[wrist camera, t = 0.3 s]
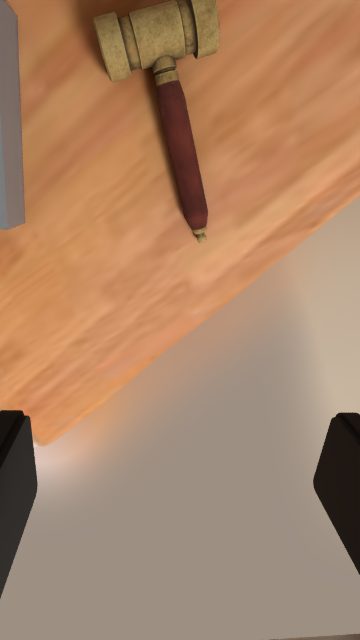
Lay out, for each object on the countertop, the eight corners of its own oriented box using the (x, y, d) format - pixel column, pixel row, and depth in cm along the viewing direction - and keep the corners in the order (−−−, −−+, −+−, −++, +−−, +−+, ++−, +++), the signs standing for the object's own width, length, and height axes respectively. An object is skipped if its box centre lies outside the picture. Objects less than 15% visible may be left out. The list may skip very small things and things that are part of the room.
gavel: (252, 235, 36) (160, 260, 36) (240, 226, 40) (158, 249, 40) (212, -27, 27) (89, 8, 27) (203, -4, 31) (95, 27, 31)
